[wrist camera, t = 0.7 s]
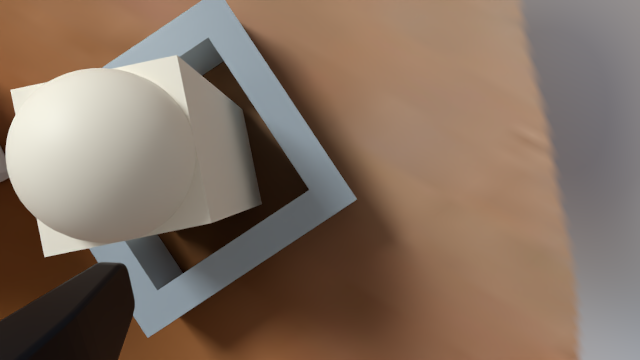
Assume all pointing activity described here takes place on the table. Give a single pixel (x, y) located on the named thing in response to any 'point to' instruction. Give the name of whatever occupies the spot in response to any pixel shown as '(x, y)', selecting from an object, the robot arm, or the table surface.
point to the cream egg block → (128, 154)
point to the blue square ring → (288, 129)
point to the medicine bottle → (3, 166)
